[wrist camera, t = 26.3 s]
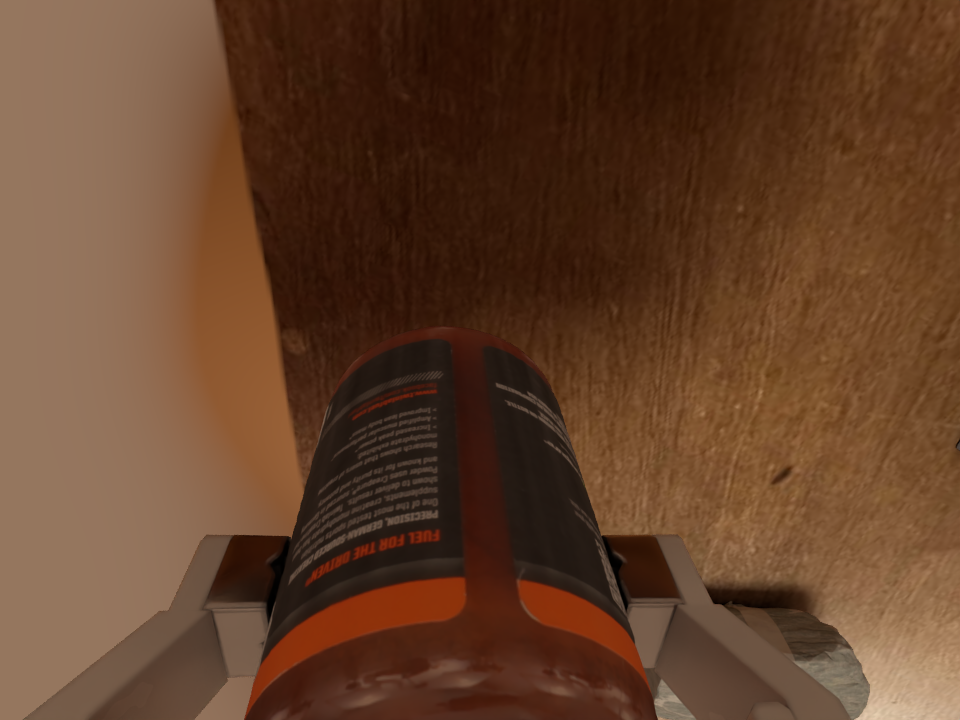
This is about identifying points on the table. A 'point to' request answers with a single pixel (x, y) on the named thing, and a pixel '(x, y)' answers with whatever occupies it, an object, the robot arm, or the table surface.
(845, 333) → the table surface
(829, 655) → the decorative stone
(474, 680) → the supplement bottle
